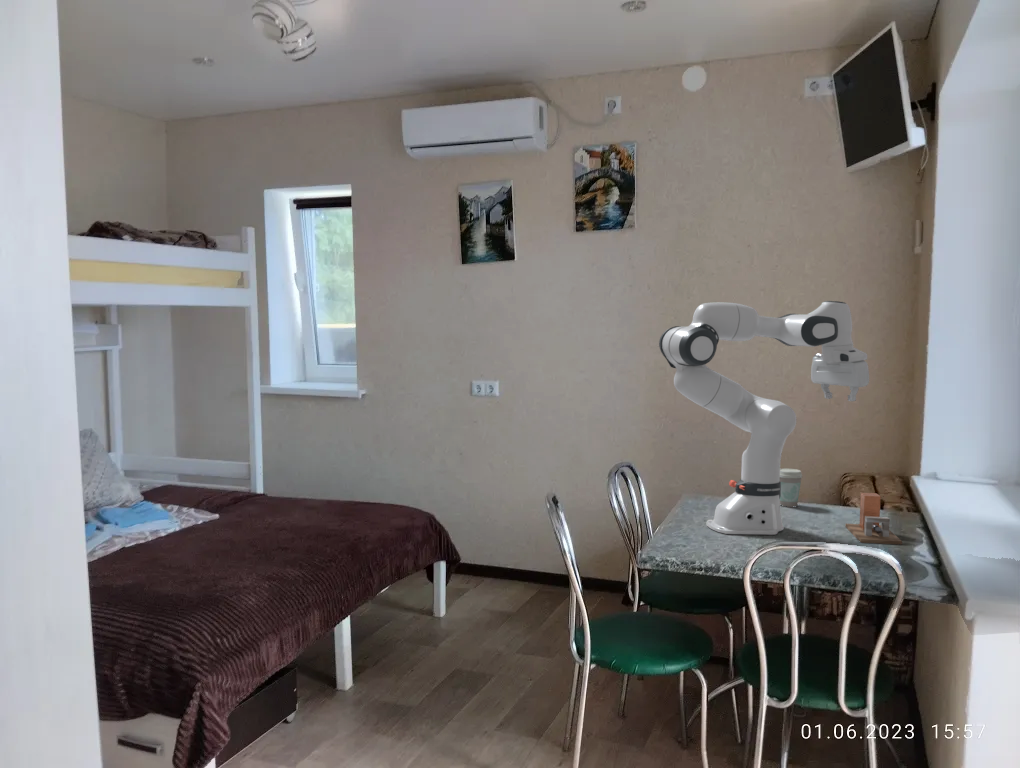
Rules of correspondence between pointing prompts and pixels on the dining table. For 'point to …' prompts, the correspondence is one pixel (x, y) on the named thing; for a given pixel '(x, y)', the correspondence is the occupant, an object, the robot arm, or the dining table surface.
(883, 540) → the eye board
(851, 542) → the dining table surface
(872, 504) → the orange brown upright block
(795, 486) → the coffee cup
